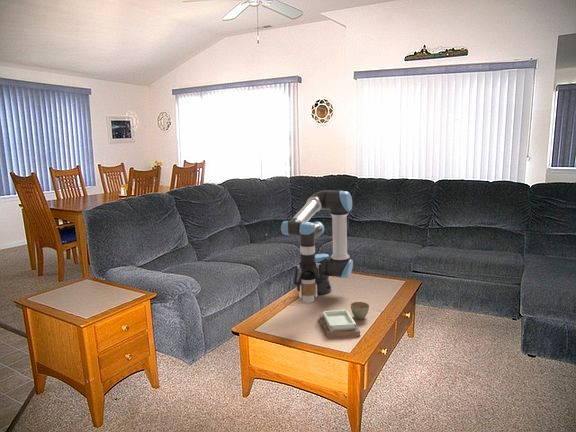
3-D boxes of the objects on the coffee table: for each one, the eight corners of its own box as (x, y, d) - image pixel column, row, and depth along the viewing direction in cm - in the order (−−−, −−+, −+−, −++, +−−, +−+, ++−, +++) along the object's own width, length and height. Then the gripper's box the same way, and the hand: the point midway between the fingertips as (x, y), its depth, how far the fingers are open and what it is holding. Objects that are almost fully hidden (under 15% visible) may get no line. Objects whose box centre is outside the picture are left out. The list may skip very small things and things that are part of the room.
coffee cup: (315, 297, 222) (315, 269, 219) (317, 303, 214) (317, 274, 211) (299, 297, 222) (299, 270, 219) (300, 303, 213) (300, 275, 210)
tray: (322, 316, 224) (322, 311, 223) (346, 314, 226) (346, 309, 225) (330, 331, 206) (330, 325, 206) (356, 329, 208) (356, 323, 207)
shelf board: (319, 319, 226) (319, 315, 226) (348, 317, 228) (348, 313, 228) (328, 338, 205) (328, 333, 204) (360, 336, 207) (360, 331, 206)
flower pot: (355, 322, 222) (355, 309, 221) (347, 315, 231) (347, 302, 230) (372, 320, 224) (372, 307, 223) (364, 313, 234) (364, 300, 233)
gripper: (288, 256, 208) (289, 300, 212) (329, 254, 210) (329, 297, 215) (286, 252, 215) (287, 295, 220) (325, 250, 218) (326, 292, 222)
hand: (308, 296), depth 217 cm, fingers closed on coffee cup, 7 cm apart
